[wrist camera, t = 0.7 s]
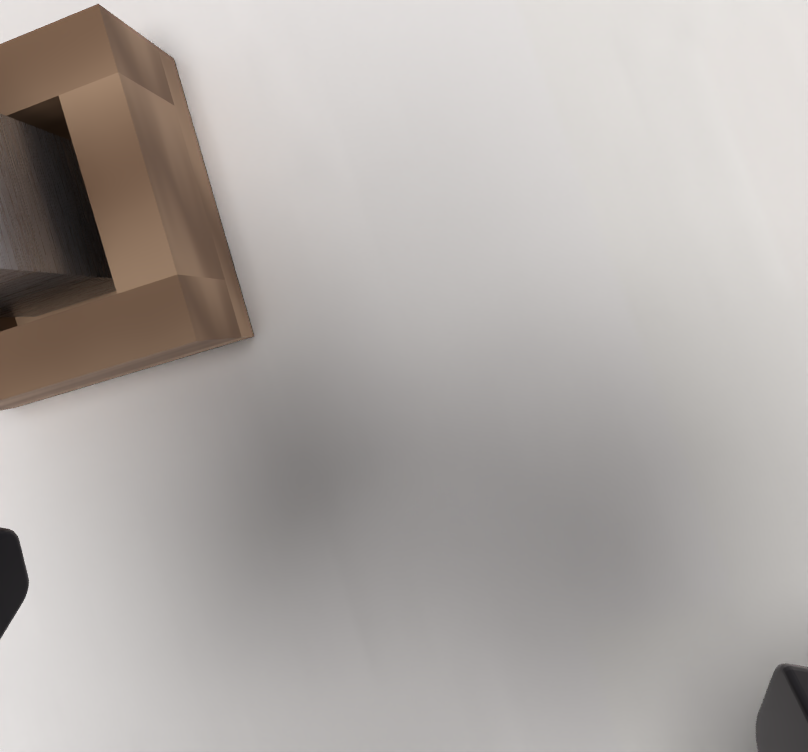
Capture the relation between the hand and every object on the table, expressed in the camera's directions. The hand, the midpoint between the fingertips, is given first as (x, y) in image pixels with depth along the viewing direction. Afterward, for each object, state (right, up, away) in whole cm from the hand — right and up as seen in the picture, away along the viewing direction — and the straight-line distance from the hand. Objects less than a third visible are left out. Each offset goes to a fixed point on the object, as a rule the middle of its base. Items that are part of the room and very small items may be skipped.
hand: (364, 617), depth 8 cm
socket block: (-10, +7, +15) cm, 19 cm away
